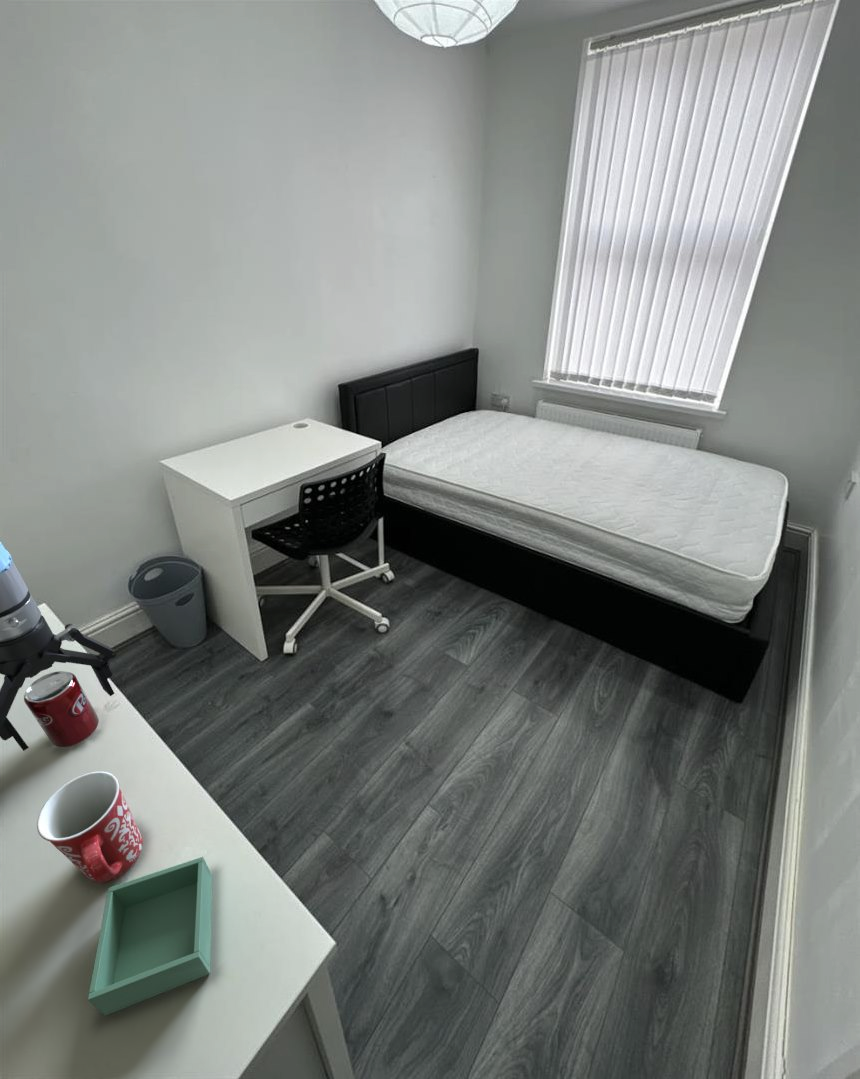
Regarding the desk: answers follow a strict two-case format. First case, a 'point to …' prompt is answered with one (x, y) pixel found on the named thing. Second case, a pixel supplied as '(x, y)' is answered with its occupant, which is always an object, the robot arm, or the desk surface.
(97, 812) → the mug
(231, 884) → the desk surface
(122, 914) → the teal square tray
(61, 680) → the soda can
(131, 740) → the desk surface
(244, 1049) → the desk surface
